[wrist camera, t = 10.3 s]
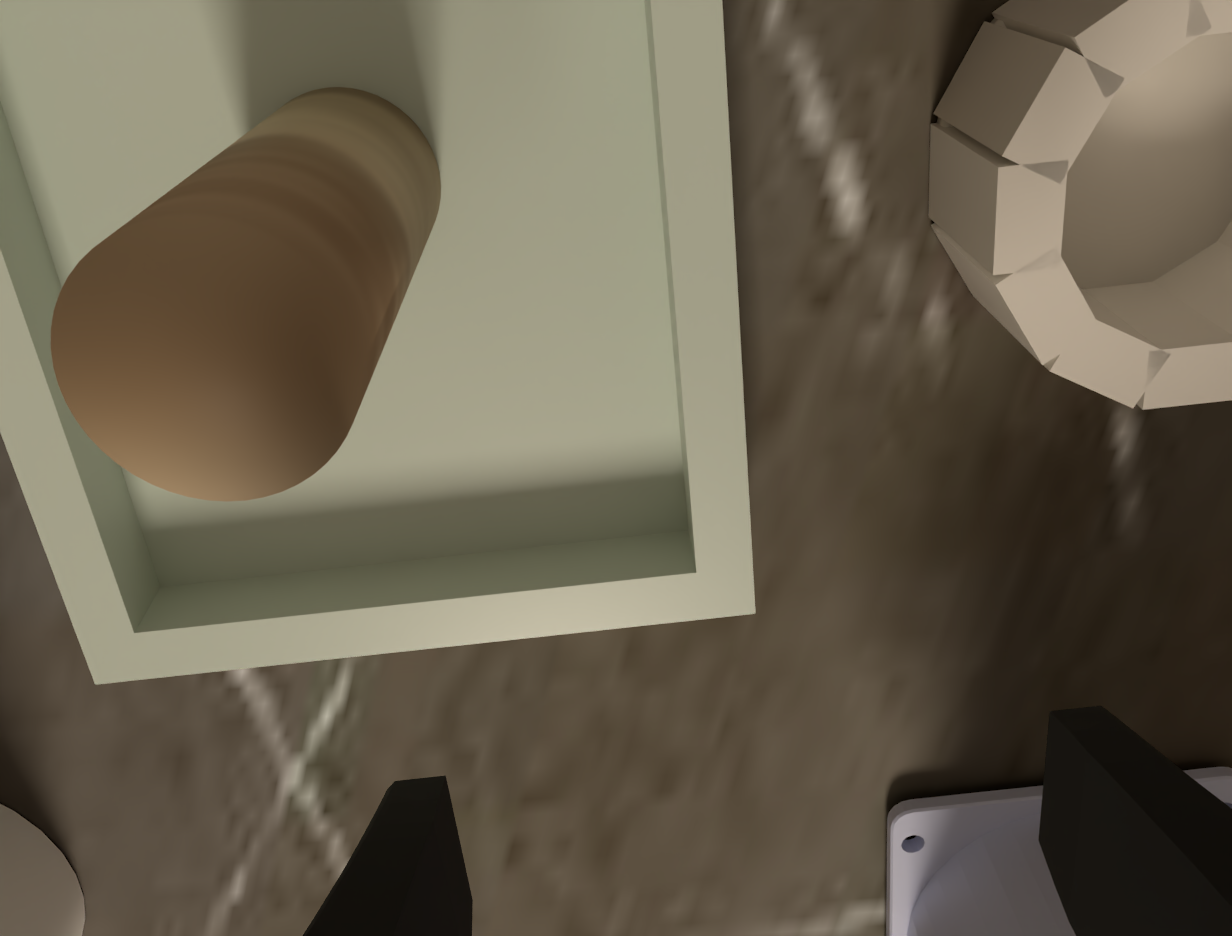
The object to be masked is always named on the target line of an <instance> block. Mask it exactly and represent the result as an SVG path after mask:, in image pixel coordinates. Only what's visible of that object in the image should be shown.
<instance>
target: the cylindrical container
mask: <svg viewBox="0 0 1232 936" xmlns="http://www.w3.org/2000/svg"><path fill="white" fill-rule="evenodd" d="M84 922H85V907H84V896H83V893H82V891H81V888H80V885H79V882H78V879H77V876H76V874H75V872H74V871H73V869H72V868H71V866H70V864H69V863H68V861H67V860H66V858H65V856H64V855H63V853H62V852H61V851H60V850H59V849H58V848H57V847H56V846H55V845H54V844H53V843H52V841H51V840H50V839H49V838H48V837H47V836H46V835H45V834H44V833H43V832H42V831H41V830H40V829H38V828H37V827H35V826H34V825H33V824H31V823H30V822H29V821H27V820H26V819H25V818H23V817H22V816H20V815H19V814H18V813H16V812H15V811H13V810H11V809H9V808H7V807H6V806H4V805H2V804H0V936H82V932H83V927H84Z"/></svg>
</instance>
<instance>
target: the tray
mask: <svg viewBox="0 0 1232 936" xmlns="http://www.w3.org/2000/svg"><path fill="white" fill-rule="evenodd" d="M329 87H345V88H354V89H358V90H363V91H366V92H369V93H372V94H375V95H377V96H379V97H381V98H383V99H385V100H387V101H389V102H391V103H392V104H394V105H395V106H397V107H398V108H400V109H401V110H402V111H403V112H404V113H405V114H406V115H408V116H409V117H410V118H411V119H412V120H413V122H414V123H415V124H416V125H417V126H418V127H419V128H420V130H421V131H422V133H423V134H424V136H425V137H426V139H427V141H428V142H429V144H430V146H431V148H432V150H433V153H434V156H435V158H436V161H437V165H438V169H439V173H440V181H441V199H440V206H439V211H438V214H437V218H436V221H435V223H434V226H433V228H432V231H431V233H430V236H429V238H428V240H427V243H426V245H425V248H424V250H423V253H422V255H421V258H420V260H419V263H418V265H417V267H416V270H415V272H414V275H413V277H412V280H411V282H410V285H409V287H408V290H407V292H406V294H405V297H404V299H403V302H402V304H401V307H400V309H399V312H398V314H397V317H396V319H395V321H394V324H393V326H392V329H391V331H390V334H389V336H388V339H387V341H386V344H385V346H384V348H383V351H382V353H381V356H380V358H379V361H378V363H377V366H376V368H375V370H374V373H373V375H372V378H371V380H370V383H369V385H368V388H367V390H366V393H365V395H364V397H363V400H362V402H361V405H360V407H359V410H358V412H357V415H356V417H355V420H354V422H353V424H352V426H351V428H350V431H349V433H348V435H347V437H346V439H345V440H344V442H343V443H342V445H341V446H340V448H339V449H338V451H337V452H336V453H335V454H334V456H333V457H332V458H331V459H330V460H329V461H328V462H327V463H326V464H325V465H324V466H323V467H322V468H321V469H319V470H318V471H317V472H316V473H315V474H314V475H312V476H311V477H309V478H308V479H306V480H304V481H303V482H301V483H300V484H298V485H296V486H294V487H291V488H289V489H287V490H285V491H283V492H280V493H277V494H273V495H270V496H267V497H263V498H257V499H252V500H246V501H228V502H226V501H210V500H203V499H197V498H191V497H187V496H183V495H180V494H176V493H173V492H169V491H167V490H164V489H162V488H159V487H157V486H154V485H152V484H150V483H148V482H146V481H144V480H142V479H141V478H139V477H137V476H135V475H133V474H132V473H130V472H129V471H127V470H126V469H124V468H123V467H121V466H120V465H118V464H117V463H116V462H115V461H113V460H112V459H111V458H110V457H109V456H107V455H106V454H105V453H104V452H103V451H102V450H101V449H100V448H99V447H98V446H97V445H96V444H95V443H94V442H93V441H92V440H91V439H90V438H89V437H88V436H87V434H86V433H85V432H84V430H83V429H82V428H81V426H80V425H79V424H78V422H77V421H76V419H75V418H74V416H73V414H72V413H71V411H70V409H69V407H68V406H67V404H66V402H65V400H64V397H63V395H62V393H61V390H60V388H59V385H58V382H57V379H56V375H55V371H54V368H53V362H52V355H51V324H52V318H53V312H54V308H55V305H56V302H57V299H58V296H59V293H60V291H61V289H62V287H63V285H64V283H65V281H66V279H67V277H68V276H69V274H70V273H71V272H72V270H73V269H74V268H75V266H76V265H77V264H78V262H79V261H80V260H81V259H82V258H83V257H84V256H85V255H86V254H87V253H88V252H89V251H90V250H91V249H92V248H94V247H95V246H96V245H98V244H99V243H100V242H102V241H103V240H104V239H106V238H107V237H108V236H110V235H111V234H112V233H114V232H115V231H116V230H118V229H119V228H120V227H122V226H123V225H124V224H126V223H127V222H128V221H130V220H131V219H132V218H134V217H135V216H136V215H138V214H139V213H140V212H142V211H143V210H144V209H146V208H147V207H148V206H150V205H151V204H152V203H154V202H155V201H156V200H158V199H159V198H160V197H162V196H163V195H164V194H166V193H167V192H168V191H170V190H171V189H172V188H174V187H175V186H176V185H178V184H179V183H180V182H182V181H183V180H184V179H186V178H187V177H188V176H190V175H191V174H193V173H194V172H195V171H197V170H198V169H199V168H201V167H202V166H203V165H205V164H206V163H207V162H209V161H210V160H211V159H213V158H214V157H215V156H217V155H218V154H219V153H221V152H222V151H223V150H225V149H226V148H227V147H229V146H230V145H231V144H233V143H234V142H235V141H237V140H238V139H239V138H241V137H242V136H243V135H245V134H246V133H247V132H249V131H250V130H251V129H253V128H254V127H255V126H257V125H258V124H259V123H261V122H262V121H263V120H265V119H266V118H267V117H269V116H270V115H271V114H273V113H274V112H275V111H277V110H278V109H279V108H281V107H282V106H283V105H285V104H286V103H288V102H289V101H290V100H292V99H294V98H296V97H298V96H300V95H302V94H304V93H307V92H310V91H313V90H317V89H322V88H329ZM0 433H1V435H2V438H3V441H4V443H5V446H6V449H7V451H8V454H9V457H10V459H11V462H12V465H13V467H14V470H15V473H16V475H17V478H18V481H19V483H20V486H21V488H22V491H23V494H24V496H25V499H26V502H27V504H28V507H29V510H30V512H31V515H32V518H33V520H34V523H35V526H36V528H37V531H38V534H39V536H40V539H41V542H42V544H43V547H44V550H45V552H46V555H47V558H48V560H49V563H50V566H51V568H52V571H53V574H54V576H55V579H56V582H57V584H58V587H59V590H60V592H61V595H62V598H63V600H64V603H65V606H66V608H67V611H68V613H69V616H70V619H71V621H72V624H73V627H74V629H75V632H76V635H77V637H78V640H79V643H80V645H81V648H82V651H83V653H84V656H85V659H86V661H87V664H88V667H89V669H90V672H91V675H92V677H93V680H94V683H95V685H96V684H105V683H114V682H124V681H133V680H142V679H152V678H161V677H170V676H179V675H189V674H198V673H207V672H217V671H226V670H235V669H245V668H254V667H263V666H273V665H282V664H291V663H300V662H310V661H319V660H328V659H338V658H347V657H356V656H366V655H375V654H384V653H394V652H403V651H412V650H421V649H431V648H440V647H449V646H459V645H468V644H477V643H487V642H496V641H505V640H515V639H524V638H533V637H543V636H552V635H561V634H570V633H580V632H589V631H598V630H608V629H617V628H626V627H636V626H645V625H654V624H664V623H673V622H682V621H691V620H701V619H710V618H719V617H729V616H738V615H747V614H755V597H754V578H753V560H752V541H751V523H750V504H749V486H748V467H747V449H746V430H745V412H744V393H743V375H742V356H741V338H740V320H739V301H738V283H737V264H736V246H735V227H734V209H733V190H732V172H731V153H730V135H729V116H728V98H727V79H726V61H725V42H724V24H723V5H722V0H0Z"/></svg>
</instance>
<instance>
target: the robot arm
mask: <svg viewBox="0 0 1232 936" xmlns="http://www.w3.org/2000/svg"><path fill="white" fill-rule="evenodd" d="M912 835H916V837H915V838H913V839H910V840H904V839H905V838H907V837H909V836H912ZM303 936H472V896H471V891H470V887H469V882H468V877H467V873H466V868H465V863H464V859H463V854H462V850H461V845H460V840H459V836H458V831H457V826H456V822H455V817H454V812H453V808H452V803H451V799H450V794H449V789H448V785H447V780H446V776H439V777H429V778H420V779H411V780H401V781H395V782H394V783H393V784H392V785H391V786H390V787H389V788H388V789H387V791H386V793H385V795H384V797H383V799H382V801H381V803H380V805H379V807H378V809H377V811H376V812H375V814H374V816H373V818H372V820H371V822H370V824H369V826H368V827H367V829H366V831H365V833H364V835H363V837H362V838H361V840H360V842H359V844H358V846H357V847H356V849H355V851H354V853H353V854H352V856H351V858H350V860H349V861H348V863H347V865H346V867H345V868H344V870H343V872H342V873H341V875H340V877H339V878H338V880H337V882H336V883H335V885H334V886H333V888H332V890H331V891H330V893H329V895H328V896H327V898H326V899H325V901H324V903H323V904H322V906H321V908H320V909H319V911H318V912H317V914H316V916H315V917H314V919H313V920H312V922H311V924H310V925H309V927H308V928H307V930H306V931H305V933H304V934H303ZM886 936H1232V768H1230V767H1212V768H1202V769H1193V770H1181V769H1180V768H1179V767H1177V766H1176V765H1175V764H1174V763H1172V762H1171V761H1170V760H1169V759H1167V758H1166V757H1165V756H1164V755H1162V754H1161V753H1160V752H1159V751H1157V750H1156V749H1155V748H1154V747H1152V746H1151V745H1150V744H1149V743H1147V742H1146V741H1145V740H1144V739H1142V738H1141V737H1140V736H1139V735H1137V734H1136V733H1135V732H1134V731H1133V730H1131V729H1130V728H1129V727H1128V726H1126V725H1125V724H1124V723H1123V722H1121V721H1120V720H1119V719H1117V718H1116V717H1115V716H1114V715H1112V714H1111V713H1110V712H1109V711H1107V710H1106V709H1105V708H1103V707H1102V706H1095V707H1086V708H1076V709H1067V710H1057V711H1050V714H1049V725H1048V736H1047V748H1046V759H1045V771H1044V782H1043V785H1042V786H1033V787H1023V788H1014V789H1005V790H995V791H986V792H976V793H967V794H958V795H948V796H939V797H929V798H920V799H910V800H906V801H902V802H900V803H898V804H897V805H895V806H894V807H893V808H892V809H891V810H890V811H889V814H888V818H887V903H886Z"/></svg>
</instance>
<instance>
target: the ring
mask: <svg viewBox="0 0 1232 936" xmlns="http://www.w3.org/2000/svg"><path fill="white" fill-rule="evenodd" d="M992 14H993V16H994V19H993V20H992V21H991V22H990V23H989V22H986V21H984V22H983V24H982V26H981V28H980V30H979V31H978V33H977V35H976V37H975V39H974V41H973V42H972V44H971V46H970V48H969V50H968V51H967V53H966V55H965V57H964V59H963V61H962V62H961V64H960V66H959V68H958V70H957V71H956V73H955V75H954V77H953V79H952V80H951V82H950V84H949V86H948V88H947V90H946V91H945V93H944V95H943V97H942V99H941V100H940V102H939V104H938V106H937V108H936V110H935V111H934V113H933V114H935V115H936V116H938V119H937V123H931V124H930V168H929V212H928V217H929V218H930V219H931V220H932V221H934V222H935V223H933V224H932V225H931V227H932V229H933V230H934V232H935V234H936V235H937V237H938V239H939V240H940V242H941V244H942V245H943V247H944V249H945V250H946V252H947V254H948V255H949V257H950V259H951V260H952V262H953V264H954V265H955V267H956V269H957V270H958V272H959V273H960V275H961V277H962V278H963V280H964V282H965V283H966V285H967V287H968V288H969V290H970V292H971V293H972V295H973V296H974V297H975V298H976V299H977V300H978V301H979V302H980V303H981V304H982V305H983V306H984V307H985V308H986V309H987V310H988V311H989V312H990V313H991V314H992V315H993V316H994V317H995V318H996V319H997V320H998V321H999V322H1000V323H1001V324H1002V325H1003V326H1004V327H1005V328H1006V329H1007V330H1008V331H1009V332H1010V333H1011V334H1012V335H1013V336H1014V337H1015V338H1016V339H1017V340H1018V341H1019V342H1020V343H1021V344H1022V345H1023V346H1024V347H1025V348H1026V349H1027V350H1028V351H1029V352H1030V353H1031V354H1032V355H1033V356H1034V357H1035V358H1036V359H1037V360H1038V361H1039V362H1040V363H1041V364H1042V365H1044V366H1045V367H1046V368H1047V369H1048V370H1049V371H1050V372H1052V373H1054V374H1057V375H1059V376H1061V377H1063V378H1066V379H1068V380H1070V381H1072V382H1075V383H1077V384H1079V385H1081V386H1084V387H1086V388H1088V389H1090V390H1093V391H1095V392H1097V393H1099V394H1102V395H1104V396H1106V397H1108V398H1111V399H1113V400H1115V401H1117V402H1120V403H1122V404H1124V405H1126V406H1129V407H1131V408H1134V406H1135V405H1136V404H1137V405H1138V406H1139V407H1140V408H1141V409H1142V410H1146V409H1155V408H1164V407H1173V406H1183V405H1192V404H1201V403H1210V402H1220V401H1229V400H1232V0H1009V1H1008V2H1006V3H1005V4H1003V5H1002V6H1000V7H999V8H998V9H996V10H995V11H993V12H992Z"/></svg>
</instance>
